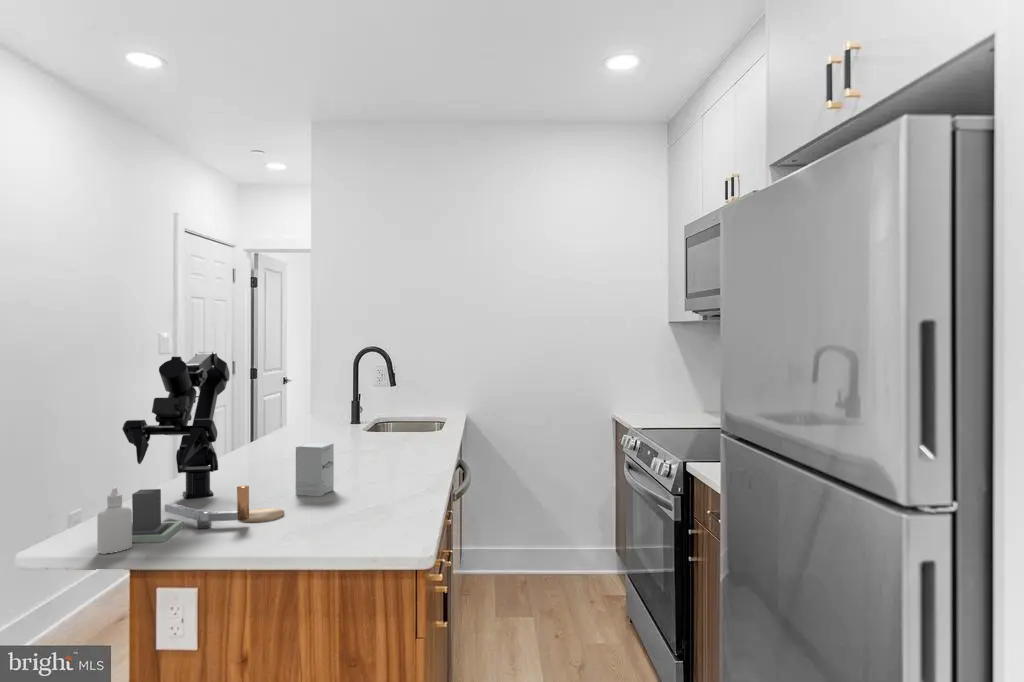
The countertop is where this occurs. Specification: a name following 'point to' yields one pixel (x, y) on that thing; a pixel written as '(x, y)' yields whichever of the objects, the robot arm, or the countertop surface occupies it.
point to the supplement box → (314, 469)
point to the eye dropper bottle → (114, 525)
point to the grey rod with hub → (207, 517)
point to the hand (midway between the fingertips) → (161, 462)
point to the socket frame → (162, 537)
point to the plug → (147, 513)
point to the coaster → (264, 514)
